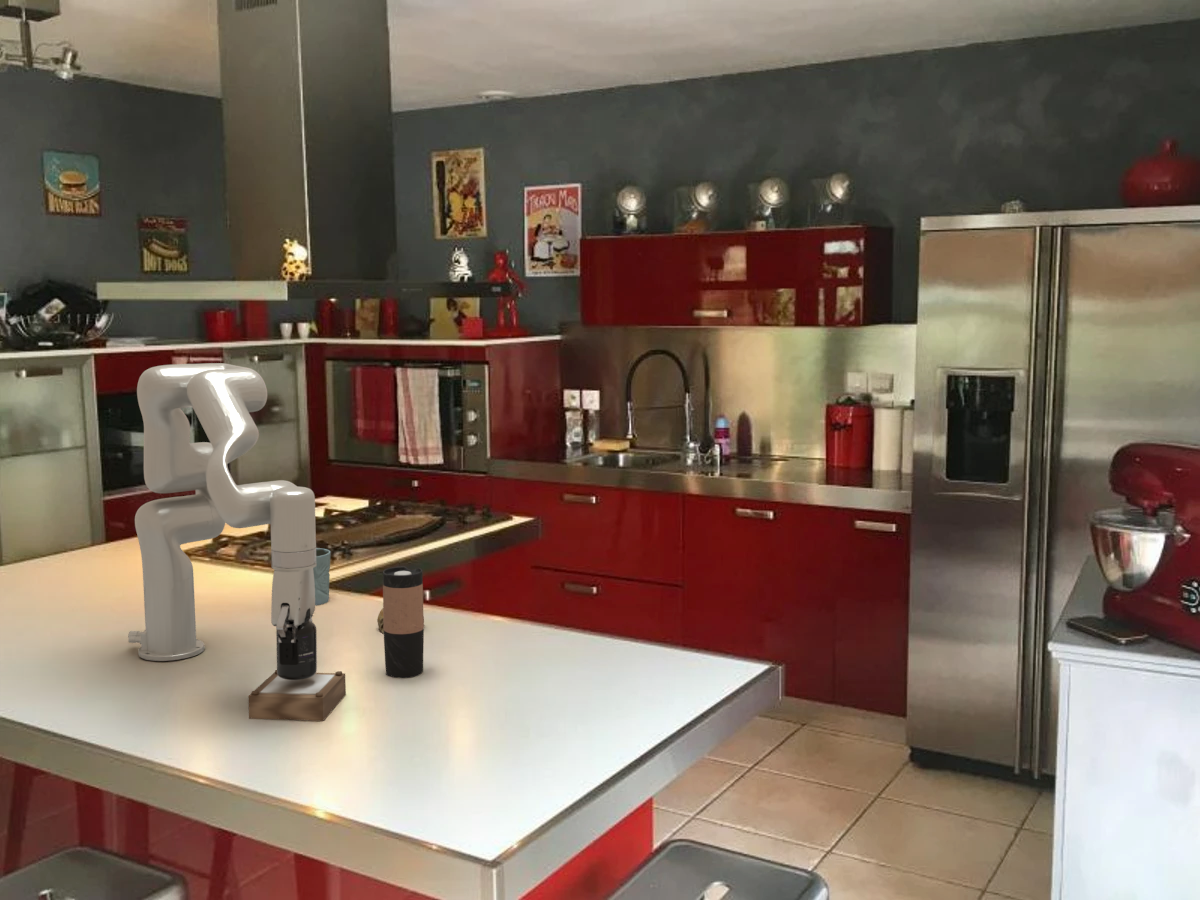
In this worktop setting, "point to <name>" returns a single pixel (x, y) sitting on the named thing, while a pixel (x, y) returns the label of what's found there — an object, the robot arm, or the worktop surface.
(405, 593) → the travel mug
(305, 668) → the supplement bottle
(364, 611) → the worktop surface
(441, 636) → the worktop surface
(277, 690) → the walnut base block
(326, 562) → the drinking glass
